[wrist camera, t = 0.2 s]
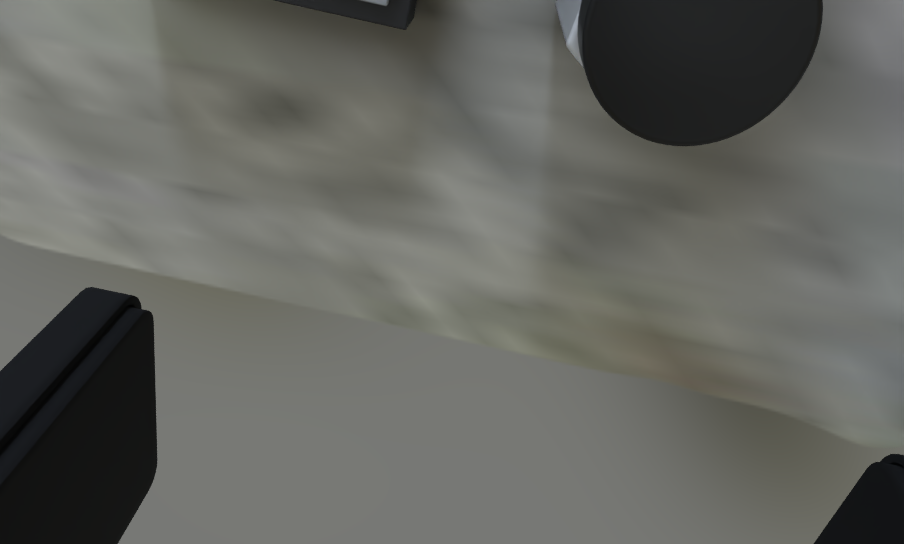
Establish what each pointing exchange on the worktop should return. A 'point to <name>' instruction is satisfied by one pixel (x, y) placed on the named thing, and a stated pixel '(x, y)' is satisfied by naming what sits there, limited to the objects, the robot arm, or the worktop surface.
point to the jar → (691, 61)
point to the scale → (366, 10)
